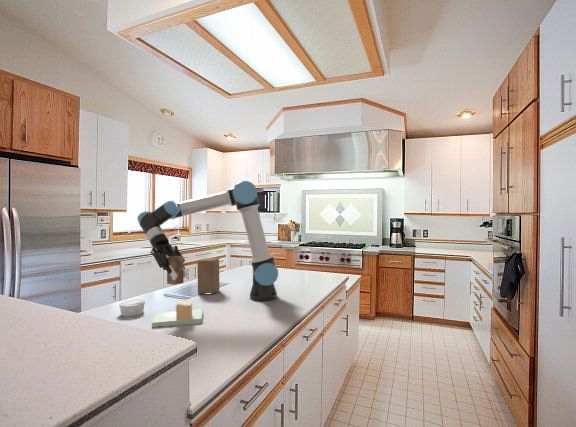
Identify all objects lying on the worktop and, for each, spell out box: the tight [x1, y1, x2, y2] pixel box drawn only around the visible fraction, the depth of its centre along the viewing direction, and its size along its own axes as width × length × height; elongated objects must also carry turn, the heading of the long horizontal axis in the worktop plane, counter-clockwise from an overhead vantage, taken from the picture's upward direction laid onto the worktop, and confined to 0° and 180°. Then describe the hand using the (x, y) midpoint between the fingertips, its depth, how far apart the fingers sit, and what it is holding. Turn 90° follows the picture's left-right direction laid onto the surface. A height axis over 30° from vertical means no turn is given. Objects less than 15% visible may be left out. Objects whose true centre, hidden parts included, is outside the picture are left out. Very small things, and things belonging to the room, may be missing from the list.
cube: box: [175, 301, 193, 320], centre depth 140 cm, size 6×6×6 cm
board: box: [151, 308, 204, 328], centre depth 143 cm, size 20×14×2 cm
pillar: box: [166, 255, 184, 286], centre depth 145 cm, size 5×5×12 cm
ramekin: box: [119, 299, 146, 317], centre depth 154 cm, size 11×11×5 cm
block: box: [196, 257, 220, 295], centre depth 192 cm, size 10×10×20 cm
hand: (180, 276), depth 143 cm, fingers closed on pillar, 5 cm apart
